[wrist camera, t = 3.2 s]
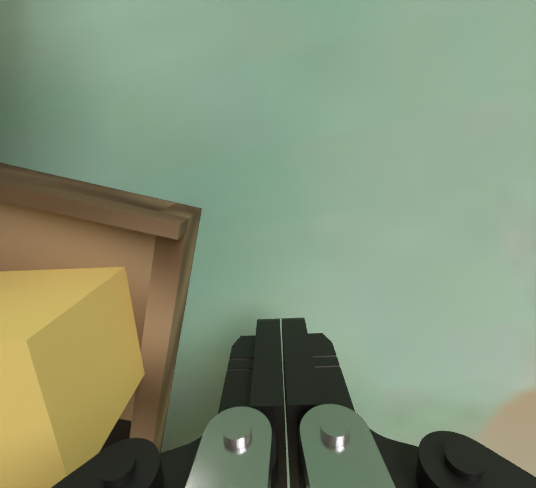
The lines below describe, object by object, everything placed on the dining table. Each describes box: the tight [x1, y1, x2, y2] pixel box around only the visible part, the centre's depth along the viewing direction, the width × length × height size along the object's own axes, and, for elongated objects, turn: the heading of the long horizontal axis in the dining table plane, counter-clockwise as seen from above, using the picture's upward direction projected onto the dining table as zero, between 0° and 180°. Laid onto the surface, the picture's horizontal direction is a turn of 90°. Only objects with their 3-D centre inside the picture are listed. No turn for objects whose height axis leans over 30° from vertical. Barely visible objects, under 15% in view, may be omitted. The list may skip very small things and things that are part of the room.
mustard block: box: [0, 267, 145, 488], centre depth 9 cm, size 4×4×4 cm
